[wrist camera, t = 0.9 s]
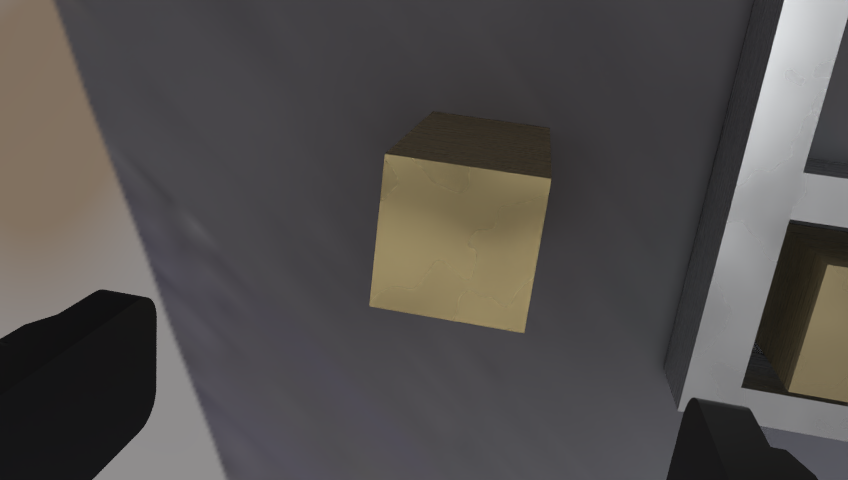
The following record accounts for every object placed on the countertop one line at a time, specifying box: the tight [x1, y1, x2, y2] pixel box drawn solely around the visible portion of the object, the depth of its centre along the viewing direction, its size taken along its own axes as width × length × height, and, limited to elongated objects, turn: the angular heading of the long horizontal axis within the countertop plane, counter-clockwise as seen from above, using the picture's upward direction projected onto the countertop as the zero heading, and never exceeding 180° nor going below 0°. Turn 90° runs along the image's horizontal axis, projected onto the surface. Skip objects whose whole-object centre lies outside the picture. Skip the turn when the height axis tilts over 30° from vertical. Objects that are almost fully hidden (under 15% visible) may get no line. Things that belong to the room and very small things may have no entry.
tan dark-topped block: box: [369, 112, 551, 333], centre depth 22 cm, size 4×4×8 cm
